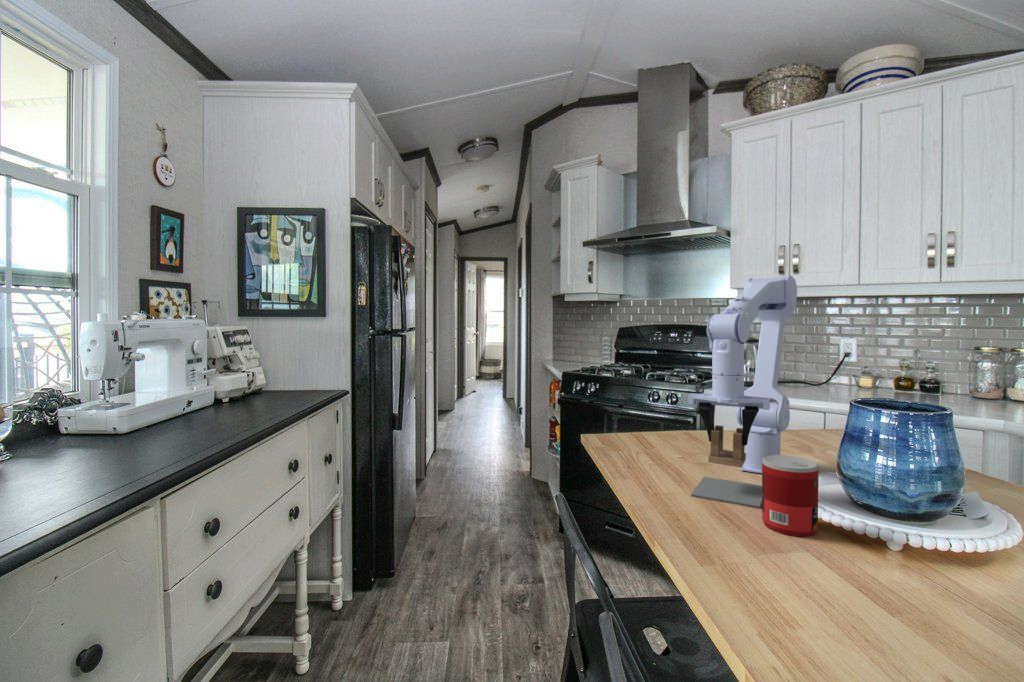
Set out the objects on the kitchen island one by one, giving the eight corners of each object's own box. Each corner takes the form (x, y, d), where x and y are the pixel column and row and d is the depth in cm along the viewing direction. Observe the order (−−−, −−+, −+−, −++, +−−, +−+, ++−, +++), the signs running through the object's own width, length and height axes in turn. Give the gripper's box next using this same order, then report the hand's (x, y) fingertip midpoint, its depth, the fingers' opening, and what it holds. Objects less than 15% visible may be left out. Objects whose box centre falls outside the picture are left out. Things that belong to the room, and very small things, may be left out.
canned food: (826, 539, 74) (827, 469, 74) (770, 535, 76) (770, 467, 75) (806, 519, 82) (807, 455, 81) (756, 516, 83) (756, 453, 83)
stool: (714, 453, 99) (714, 424, 99) (745, 458, 96) (746, 428, 96) (708, 462, 94) (709, 431, 94) (741, 467, 91) (742, 435, 91)
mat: (703, 478, 103) (703, 476, 103) (766, 488, 97) (766, 486, 97) (690, 496, 93) (690, 494, 93) (759, 508, 87) (759, 506, 87)
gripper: (684, 374, 95) (685, 442, 95) (767, 378, 87) (767, 452, 87) (693, 371, 101) (693, 434, 101) (771, 374, 93) (770, 443, 93)
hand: (727, 442), depth 95 cm, fingers closed on stool, 5 cm apart
